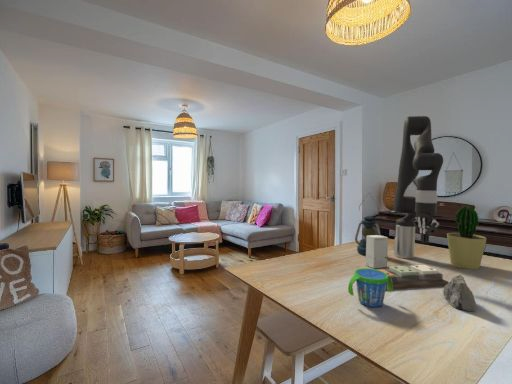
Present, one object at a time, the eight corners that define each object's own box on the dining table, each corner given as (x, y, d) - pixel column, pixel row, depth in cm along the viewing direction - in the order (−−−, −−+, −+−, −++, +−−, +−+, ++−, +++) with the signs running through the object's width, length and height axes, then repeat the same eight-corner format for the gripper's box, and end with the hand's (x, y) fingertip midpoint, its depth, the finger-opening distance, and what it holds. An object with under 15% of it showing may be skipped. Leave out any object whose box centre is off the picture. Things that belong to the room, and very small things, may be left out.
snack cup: (355, 311, 83) (356, 279, 83) (341, 296, 94) (342, 268, 93) (402, 309, 85) (403, 278, 84) (383, 295, 95) (383, 267, 95)
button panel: (359, 276, 113) (359, 268, 113) (420, 273, 119) (421, 264, 118) (380, 290, 100) (380, 280, 100) (448, 285, 105) (448, 276, 105)
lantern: (382, 253, 151) (384, 192, 150) (380, 258, 141) (382, 193, 140) (356, 249, 159) (358, 191, 157) (352, 254, 149) (354, 192, 147)
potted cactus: (470, 261, 137) (472, 204, 136) (494, 271, 122) (497, 207, 121) (439, 260, 139) (441, 203, 138) (458, 269, 124) (461, 206, 122)
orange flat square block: (367, 274, 110) (367, 269, 110) (382, 273, 111) (383, 268, 111) (378, 281, 103) (378, 275, 103) (394, 280, 104) (394, 274, 104)
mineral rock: (446, 292, 98) (447, 266, 98) (483, 303, 90) (485, 274, 89) (434, 302, 90) (435, 273, 90) (474, 315, 82) (475, 283, 81)
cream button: (410, 270, 114) (410, 265, 113) (424, 269, 115) (424, 264, 115) (423, 276, 107) (423, 270, 107) (438, 275, 108) (438, 269, 108)
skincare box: (373, 269, 124) (374, 237, 123) (364, 265, 130) (365, 235, 129) (387, 267, 126) (388, 236, 126) (378, 263, 132) (379, 234, 131)
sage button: (389, 271, 112) (389, 266, 112) (403, 270, 113) (404, 265, 113) (400, 277, 105) (401, 271, 105) (416, 276, 106) (416, 271, 106)
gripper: (447, 202, 104) (446, 246, 104) (421, 200, 117) (420, 238, 117) (431, 202, 102) (429, 246, 103) (406, 200, 115) (405, 239, 116)
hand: (424, 242), depth 110 cm, fingers closed
